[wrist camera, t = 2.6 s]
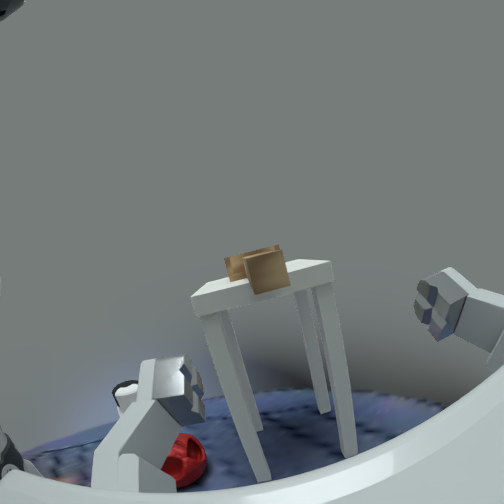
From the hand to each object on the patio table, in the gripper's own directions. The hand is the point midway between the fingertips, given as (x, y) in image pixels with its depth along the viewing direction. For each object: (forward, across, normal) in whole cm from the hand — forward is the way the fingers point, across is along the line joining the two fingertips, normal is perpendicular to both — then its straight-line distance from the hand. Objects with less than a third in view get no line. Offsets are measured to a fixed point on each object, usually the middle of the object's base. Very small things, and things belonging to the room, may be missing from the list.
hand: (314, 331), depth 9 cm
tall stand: (+10, +1, +35) cm, 36 cm away
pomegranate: (+7, +19, +34) cm, 39 cm away
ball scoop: (+17, 0, +9) cm, 20 cm away
